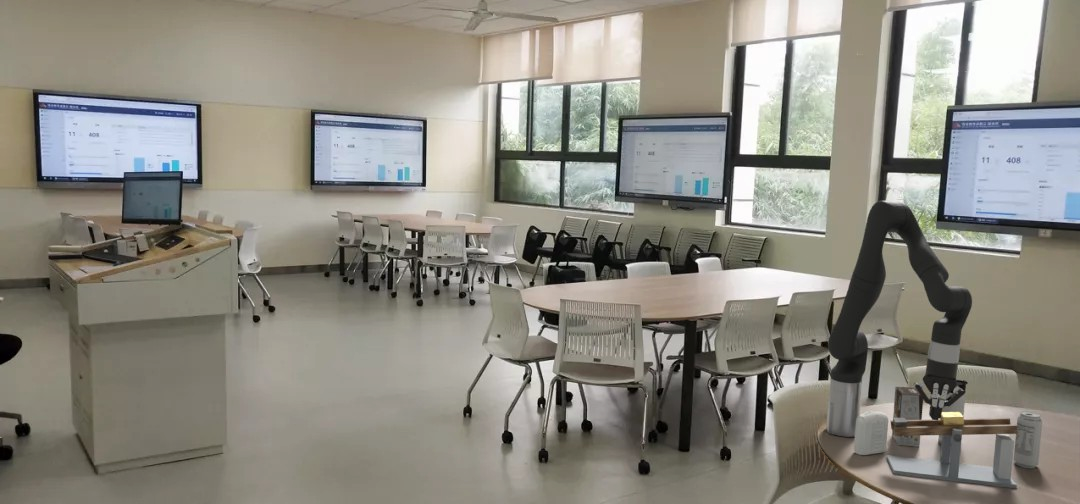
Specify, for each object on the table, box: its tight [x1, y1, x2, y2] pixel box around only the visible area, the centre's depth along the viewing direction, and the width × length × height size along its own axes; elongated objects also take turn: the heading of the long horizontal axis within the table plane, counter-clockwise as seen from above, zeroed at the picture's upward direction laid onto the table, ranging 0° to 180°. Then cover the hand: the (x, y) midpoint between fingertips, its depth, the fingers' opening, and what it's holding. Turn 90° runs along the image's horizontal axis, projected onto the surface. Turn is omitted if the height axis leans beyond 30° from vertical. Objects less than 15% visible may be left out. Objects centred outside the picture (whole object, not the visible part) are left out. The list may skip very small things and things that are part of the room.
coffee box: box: [891, 386, 924, 448], centre depth 239 cm, size 9×6×16 cm
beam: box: [890, 417, 1018, 437], centre depth 213 cm, size 30×7×4 cm, turn 74°
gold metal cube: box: [940, 412, 965, 426], centre depth 213 cm, size 5×4×4 cm
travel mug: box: [938, 379, 968, 445], centre depth 237 cm, size 6×7×20 cm
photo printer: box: [853, 410, 889, 456], centre depth 229 cm, size 10×4×12 cm, turn 115°
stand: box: [886, 428, 1018, 489], centre depth 214 cm, size 30×13×14 cm, turn 74°
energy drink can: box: [1013, 411, 1043, 469], centre depth 221 cm, size 6×6×15 cm
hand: (934, 419), depth 214 cm, fingers closed
